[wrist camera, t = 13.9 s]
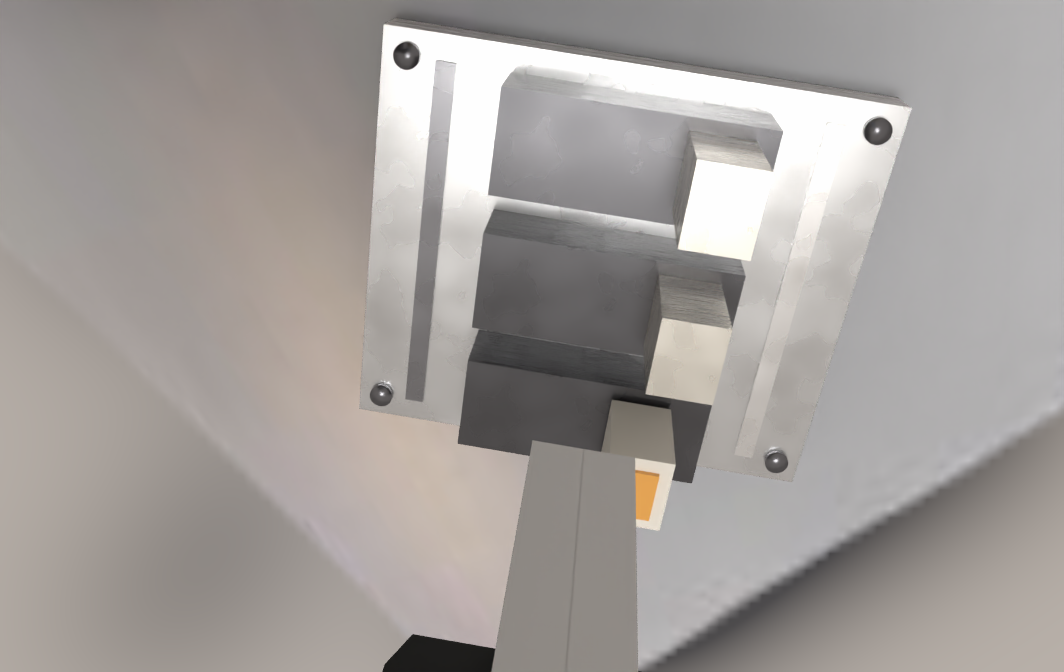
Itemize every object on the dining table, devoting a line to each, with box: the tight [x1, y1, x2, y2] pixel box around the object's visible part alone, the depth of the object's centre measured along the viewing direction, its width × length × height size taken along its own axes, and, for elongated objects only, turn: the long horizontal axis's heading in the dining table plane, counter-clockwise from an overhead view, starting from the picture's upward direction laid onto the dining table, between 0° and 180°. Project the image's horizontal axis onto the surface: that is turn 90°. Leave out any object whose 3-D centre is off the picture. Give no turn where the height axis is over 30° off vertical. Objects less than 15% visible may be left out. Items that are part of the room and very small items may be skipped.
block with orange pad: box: [601, 400, 676, 531], centre depth 35 cm, size 2×3×4 cm
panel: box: [359, 18, 912, 483], centre depth 36 cm, size 20×17×9 cm
